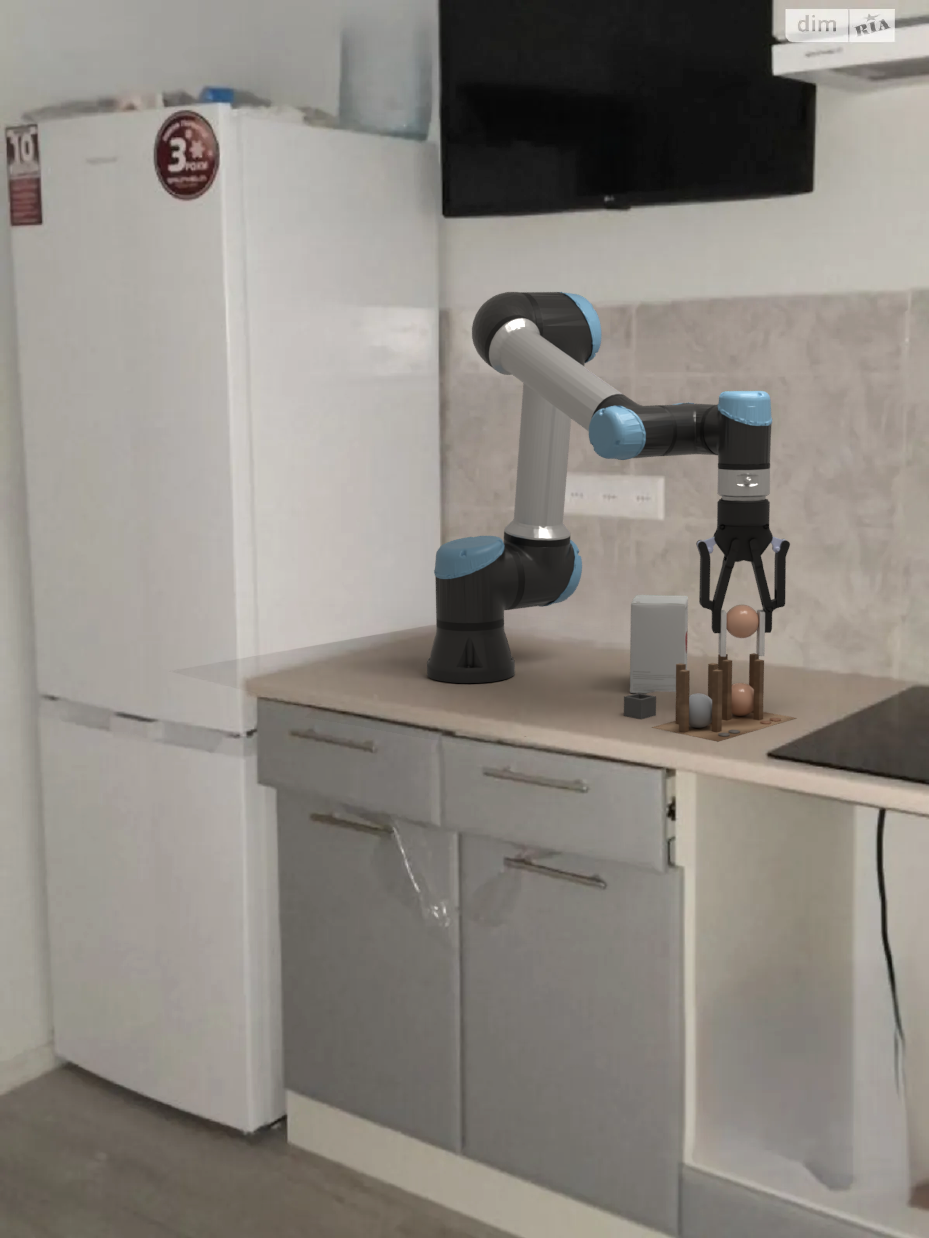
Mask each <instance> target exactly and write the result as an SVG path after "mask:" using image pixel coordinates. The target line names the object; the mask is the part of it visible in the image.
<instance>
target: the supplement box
mask: <svg viewBox="0 0 929 1238" xmlns="http://www.w3.org/2000/svg"><path fill="white" fill-rule="evenodd" d="M688 623H689V596H688V595H653V594H636V595H634V597H633V599H632V601H631V602H630V641H629V643H630V646H629V647H630V650H629V654H630V655H629V657H630V658H629V665H630V666H629V668H630V669H629V693H630V694H637V693H641V694H646V695H648V694H651V693H653V692H665V693H666V692H670V693H671V692H672V693H676V664H679V663H682V664H686V670H688V643H689V642H688V640H689V639H688V635H689V633H688V625H689V624H688Z"/></svg>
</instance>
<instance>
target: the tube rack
mask: <svg viewBox="0 0 929 1238" xmlns="http://www.w3.org/2000/svg"><path fill="white" fill-rule="evenodd" d="M748 656H749V660H748V661H749V663H748V664H749V665H748V666H749V668H748V670H749V671H748V685H750V686H751V687H752V688H753V689H754V710H753V711H752V712H751V713H750V714H748V715H745V716H736V715H733V714H731V707H732V684H733V660H732V659H729V657H728V653H726V657H721V656H720V655H719V653H718V655H717V659H718V660H717V663H716V662H715V663H714V662H711V663H708V665H707V667H708V668H707V696H708V697H710V698H711V699H712V722H711V723H710V724H709V725H708V726H706V727H703V728H695V727H692V726H690V725H689V696H690V678H691V677H690V670H688V669H687V670H686V664H682V663H679V664H676V692H675V720H673V721H670V722H665V723H662V724H659V725H655V726H652V727H651V728H653V729H656V730H661V731H666V732H670V733H676V734H679V735H680V734H681V735H685V736H690V737H693V738H699V739H704V740H708V741H714V742H717V743H718V742H722V741H726V740H729V739H732V738H736V737H739V736H742V735H747V734H748V733H749V734H750V733H753V732H756V731H759V730H762V729H766V728H769V727H772V726H776V725H779V724H782V723H786V722H789V721H793V720H796V719H798V718H797V717H792V716H787V715H784V714H783V715H782V714H777V713H772V712H767V711H764V691H765V690H764V688H765V687H764V685H765V683H764V681H765V673H764V672H765V659H760V656H759V655H758V654H757V653H755V652H753V653H749V655H748Z"/></svg>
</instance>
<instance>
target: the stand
mask: <svg viewBox="0 0 929 1238" xmlns="http://www.w3.org/2000/svg"><path fill="white" fill-rule="evenodd" d="M623 716H624V717H627V718H628V717H629V718H633V719H637V720H644V719H648V718H652V717H656V716H657V696H655V695H651V694H645V693H631V694H630V695H629V694H628V695H626V696H625V695H624V696H623Z"/></svg>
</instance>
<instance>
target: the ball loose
mask: <svg viewBox="0 0 929 1238" xmlns="http://www.w3.org/2000/svg"><path fill="white" fill-rule="evenodd" d="M726 613H727V623H726V632H728V633H729V635H731V636H732V637H734V638H737V639H747V638H750V637H751V636H753V635H754V634H755V633H757V629H758V626H759V617H758V614H757V610H755V608H753V607H751V606H750V605H747V604H736V605H734V606H732V607H731V608H729V610H728V611H727V612H726Z"/></svg>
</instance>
